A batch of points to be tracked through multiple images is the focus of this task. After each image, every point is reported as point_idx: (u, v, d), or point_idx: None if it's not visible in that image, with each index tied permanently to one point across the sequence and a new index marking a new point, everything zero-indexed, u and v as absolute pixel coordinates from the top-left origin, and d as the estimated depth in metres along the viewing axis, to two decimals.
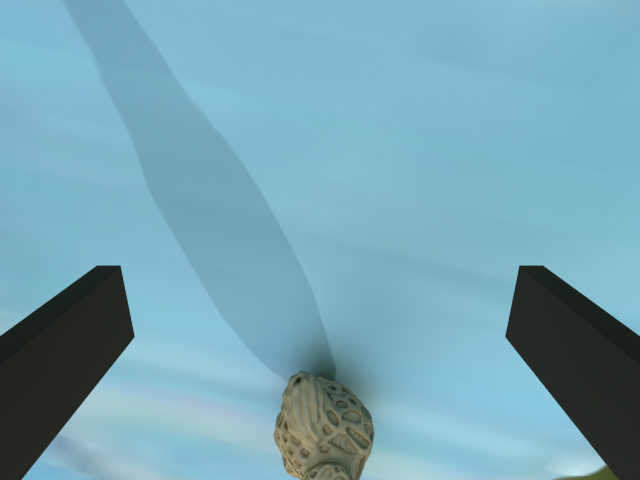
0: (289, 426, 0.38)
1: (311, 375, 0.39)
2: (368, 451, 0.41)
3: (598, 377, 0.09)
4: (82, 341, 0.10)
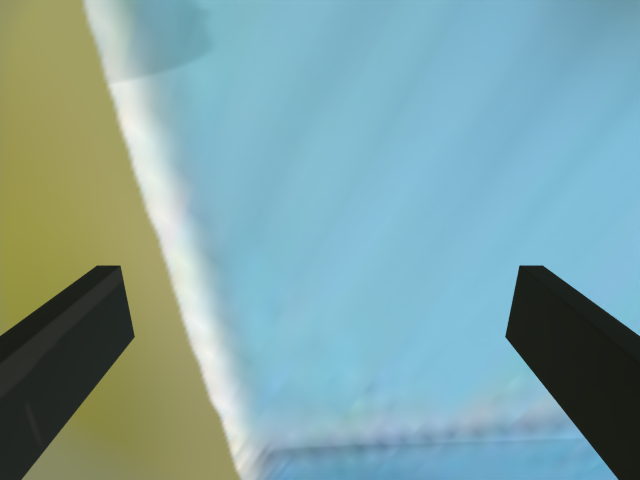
0: None
1: None
2: None
3: (598, 377, 0.09)
4: (82, 341, 0.10)
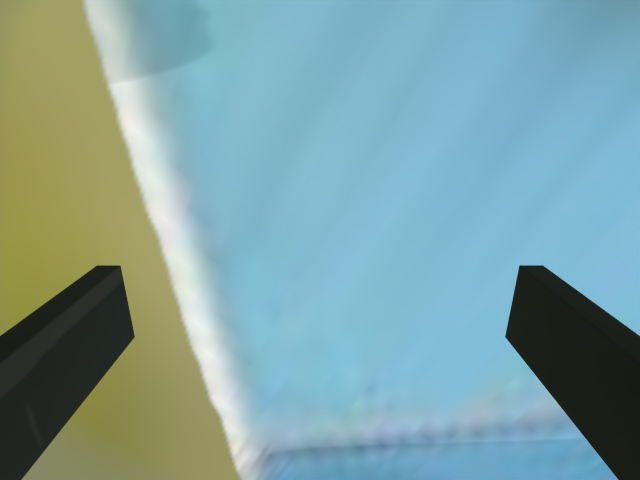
0: None
1: None
2: None
3: (598, 377, 0.09)
4: (82, 341, 0.10)
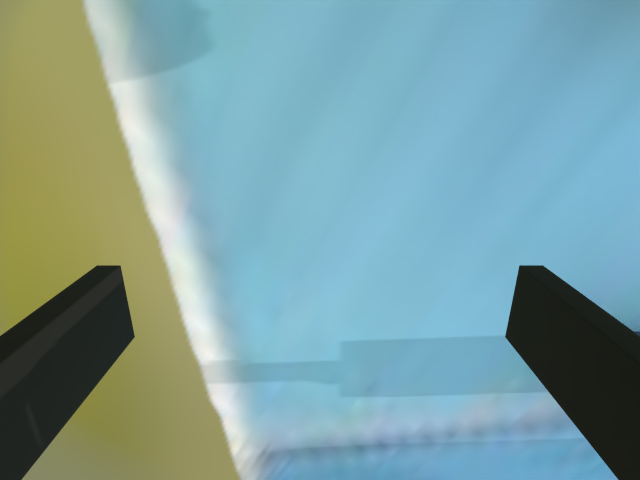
0: None
1: None
2: None
3: (598, 377, 0.09)
4: (82, 341, 0.10)
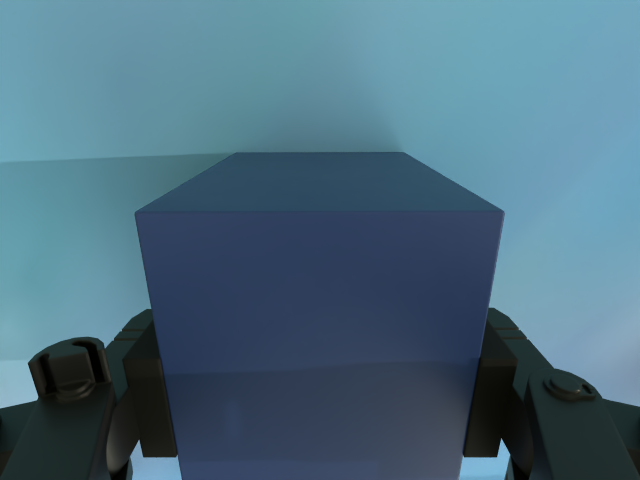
0: None
1: None
2: None
3: None
4: None
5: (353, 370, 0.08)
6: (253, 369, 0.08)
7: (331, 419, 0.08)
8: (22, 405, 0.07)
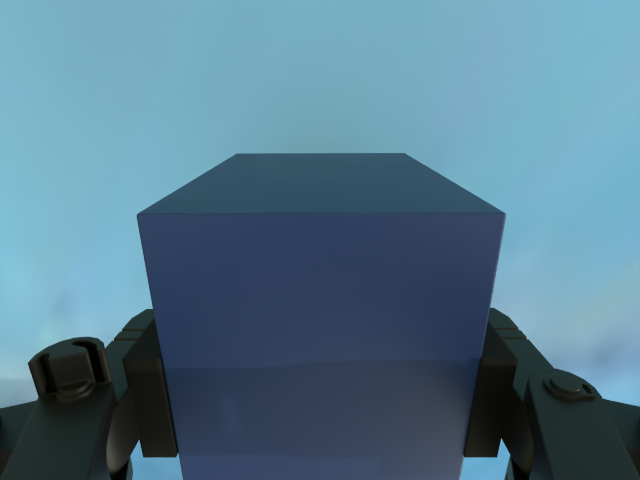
0: None
1: None
2: None
3: None
4: None
5: (354, 371, 0.08)
6: (254, 371, 0.08)
7: (333, 420, 0.08)
8: (22, 405, 0.07)
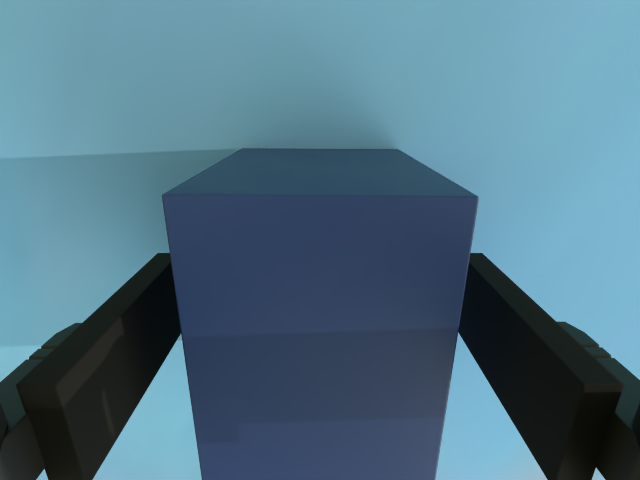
0: None
1: None
2: None
3: (509, 349, 0.10)
4: (155, 320, 0.11)
5: (348, 336, 0.09)
6: (261, 335, 0.09)
7: (329, 381, 0.09)
8: None
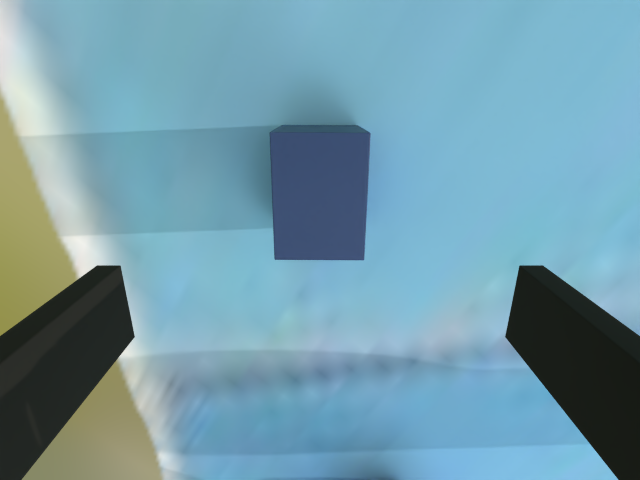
0: None
1: None
2: None
3: (598, 377, 0.09)
4: (82, 341, 0.10)
5: (330, 184, 0.26)
6: (299, 183, 0.26)
7: (323, 203, 0.26)
8: None
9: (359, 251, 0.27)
